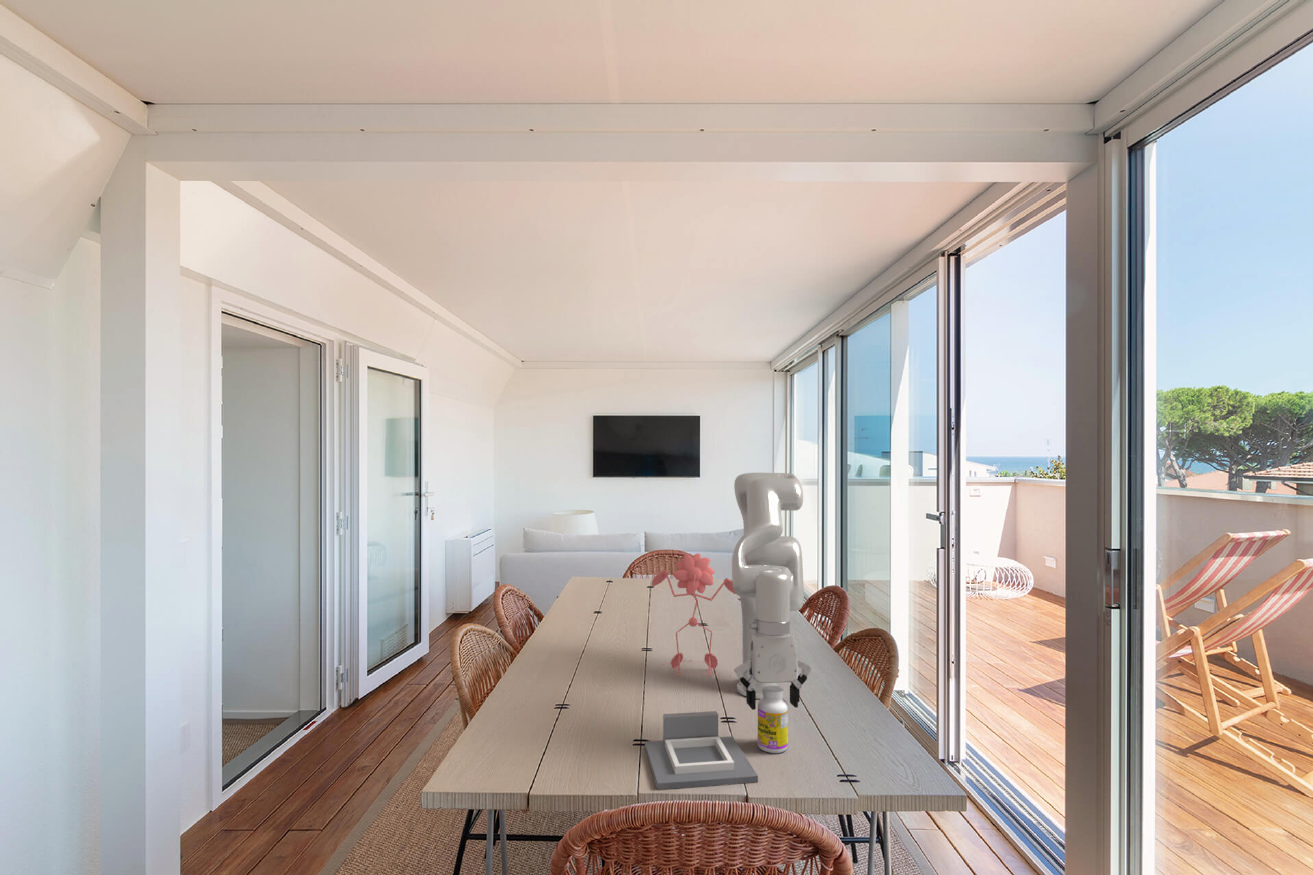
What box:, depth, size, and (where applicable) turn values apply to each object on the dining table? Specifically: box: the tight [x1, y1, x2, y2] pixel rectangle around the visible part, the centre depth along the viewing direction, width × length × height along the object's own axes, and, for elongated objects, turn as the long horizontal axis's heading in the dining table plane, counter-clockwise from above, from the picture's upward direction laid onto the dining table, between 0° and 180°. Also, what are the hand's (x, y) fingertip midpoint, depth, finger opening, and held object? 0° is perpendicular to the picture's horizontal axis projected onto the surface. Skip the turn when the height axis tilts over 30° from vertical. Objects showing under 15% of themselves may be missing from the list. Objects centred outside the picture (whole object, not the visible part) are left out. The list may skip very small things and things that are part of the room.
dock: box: [644, 710, 759, 791], centre depth 131 cm, size 18×20×7 cm
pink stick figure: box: [651, 553, 737, 677], centre depth 192 cm, size 15×26×35 cm, turn 89°
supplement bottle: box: [757, 685, 789, 754], centre depth 138 cm, size 7×7×13 cm
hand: (773, 706), depth 138 cm, fingers open, 9 cm apart
